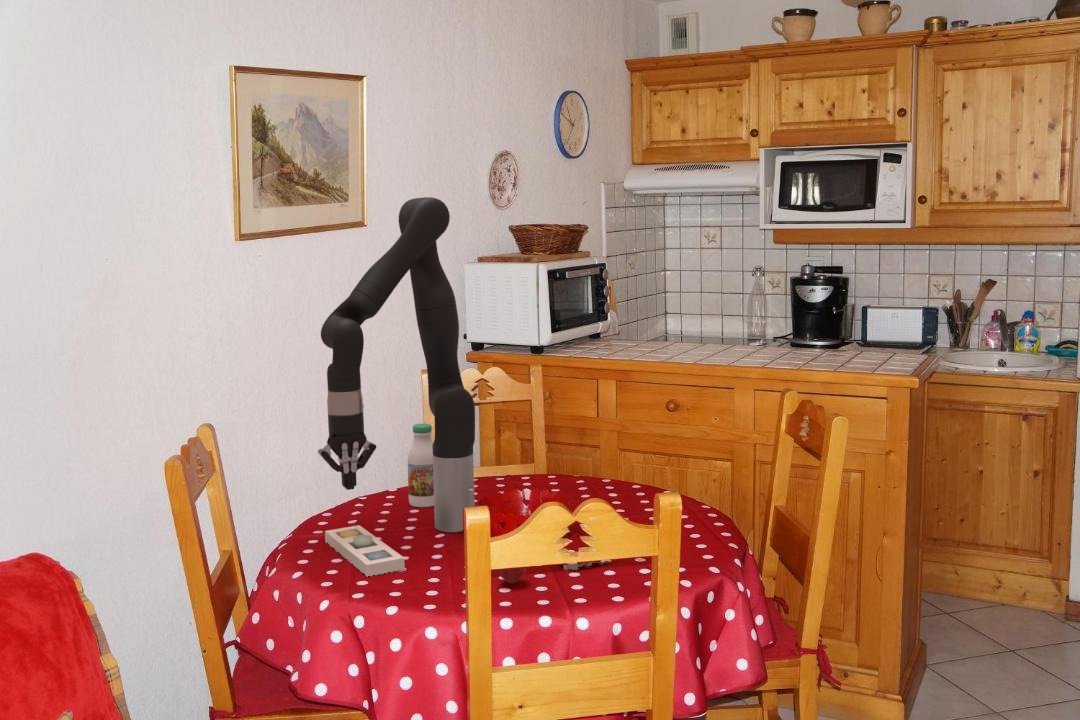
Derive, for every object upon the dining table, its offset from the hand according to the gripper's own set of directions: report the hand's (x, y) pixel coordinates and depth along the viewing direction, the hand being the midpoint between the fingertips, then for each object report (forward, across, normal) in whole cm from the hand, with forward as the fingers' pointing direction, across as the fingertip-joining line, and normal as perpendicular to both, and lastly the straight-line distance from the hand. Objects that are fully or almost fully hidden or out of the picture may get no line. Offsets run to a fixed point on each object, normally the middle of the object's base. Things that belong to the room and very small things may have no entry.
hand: (349, 488), depth 227 cm
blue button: (+12, 0, +16) cm, 20 cm away
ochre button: (+12, 0, -1) cm, 12 cm away
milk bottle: (+13, -26, -22) cm, 37 cm away
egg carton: (+14, -37, +35) cm, 53 cm away
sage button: (+11, 0, +8) cm, 13 cm away
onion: (+13, -19, +39) cm, 45 cm away
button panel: (+13, 0, +8) cm, 15 cm away
